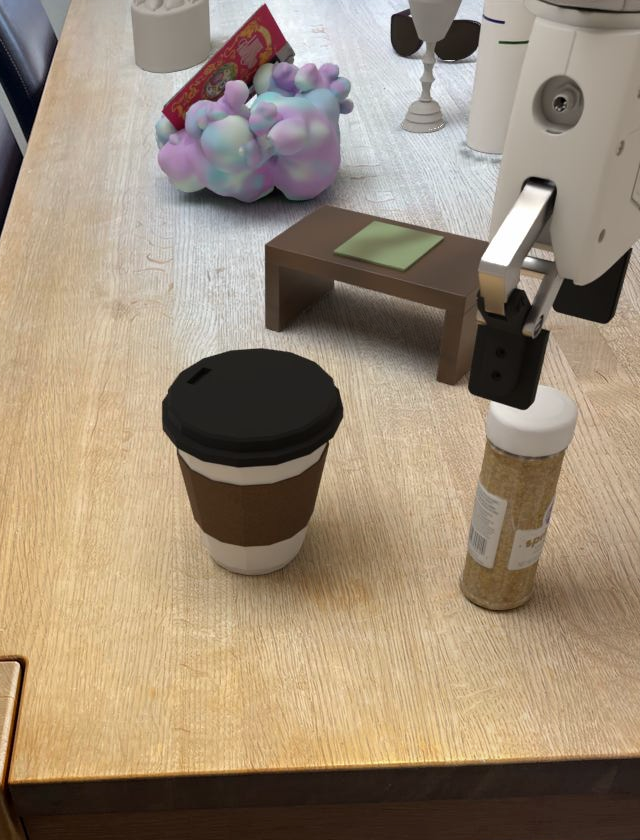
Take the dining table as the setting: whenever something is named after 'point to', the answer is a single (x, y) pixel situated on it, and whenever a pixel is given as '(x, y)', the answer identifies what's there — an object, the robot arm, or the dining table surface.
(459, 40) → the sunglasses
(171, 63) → the lumpy-topped squat cylinder
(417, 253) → the low table
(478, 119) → the cylindrical container
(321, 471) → the coffee cup
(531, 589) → the brown spice jar
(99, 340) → the dining table surface
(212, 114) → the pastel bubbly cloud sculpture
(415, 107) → the chalice
